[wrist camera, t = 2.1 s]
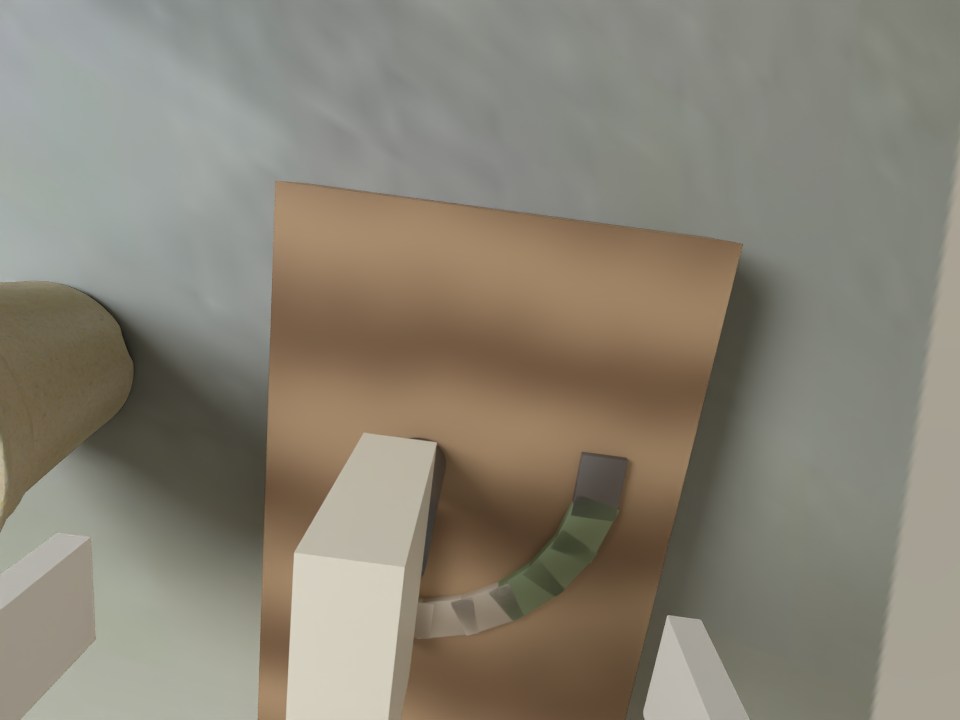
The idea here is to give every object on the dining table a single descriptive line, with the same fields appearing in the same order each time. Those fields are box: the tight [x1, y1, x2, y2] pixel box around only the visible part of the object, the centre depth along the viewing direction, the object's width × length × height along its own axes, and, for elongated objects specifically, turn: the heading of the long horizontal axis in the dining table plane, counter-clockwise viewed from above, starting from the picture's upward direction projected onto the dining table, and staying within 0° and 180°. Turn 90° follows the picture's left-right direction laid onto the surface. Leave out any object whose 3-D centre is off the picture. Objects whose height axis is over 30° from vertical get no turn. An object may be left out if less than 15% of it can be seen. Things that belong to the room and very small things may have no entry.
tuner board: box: [258, 181, 743, 720], centre depth 23 cm, size 22×15×3 cm
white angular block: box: [286, 433, 446, 720], centre depth 16 cm, size 11×2×11 cm, turn 173°
